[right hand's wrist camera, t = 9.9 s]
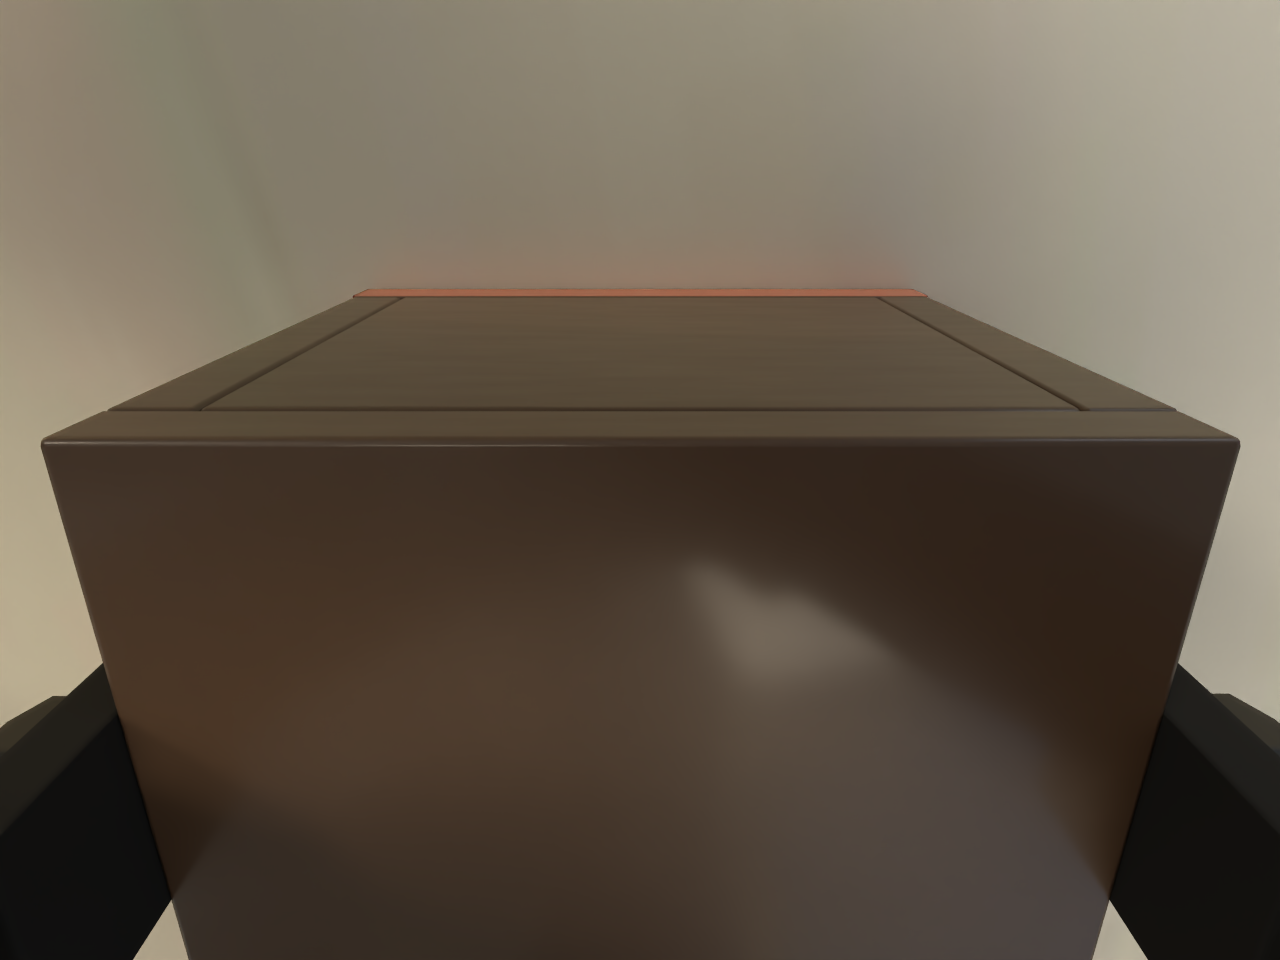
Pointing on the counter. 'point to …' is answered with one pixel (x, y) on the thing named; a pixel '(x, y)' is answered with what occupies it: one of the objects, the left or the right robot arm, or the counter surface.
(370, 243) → the counter surface
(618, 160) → the counter surface
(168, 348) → the counter surface
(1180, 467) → the cabinet
